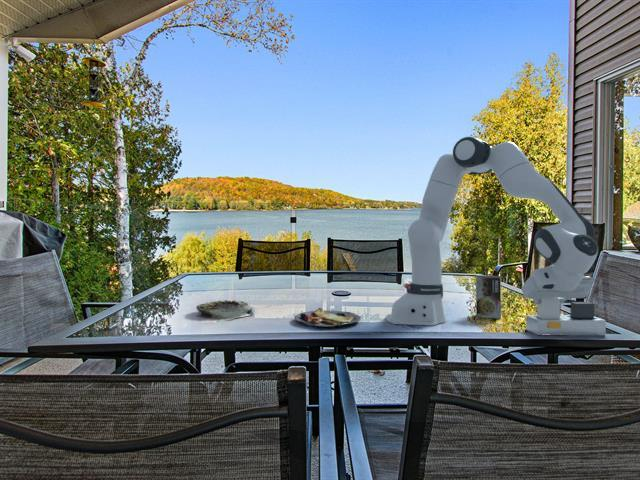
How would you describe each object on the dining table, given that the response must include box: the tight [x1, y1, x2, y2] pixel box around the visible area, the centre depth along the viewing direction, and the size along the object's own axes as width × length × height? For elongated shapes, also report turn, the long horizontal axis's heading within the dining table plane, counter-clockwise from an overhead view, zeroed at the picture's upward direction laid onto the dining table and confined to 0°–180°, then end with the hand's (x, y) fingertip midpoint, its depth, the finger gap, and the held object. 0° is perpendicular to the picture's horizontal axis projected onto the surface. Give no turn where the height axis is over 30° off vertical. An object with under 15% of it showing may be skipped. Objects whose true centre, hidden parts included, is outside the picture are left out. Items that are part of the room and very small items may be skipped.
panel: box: [536, 298, 560, 319], centre depth 142 cm, size 6×3×9 cm, turn 89°
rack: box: [525, 301, 607, 336], centre depth 142 cm, size 22×8×10 cm, turn 89°
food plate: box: [293, 307, 362, 328], centre depth 161 cm, size 25×23×4 cm
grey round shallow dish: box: [195, 299, 254, 322], centre depth 177 cm, size 28×27×5 cm
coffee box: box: [475, 274, 502, 320], centre depth 167 cm, size 9×6×16 cm
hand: (547, 302), depth 143 cm, fingers closed on panel, 6 cm apart
